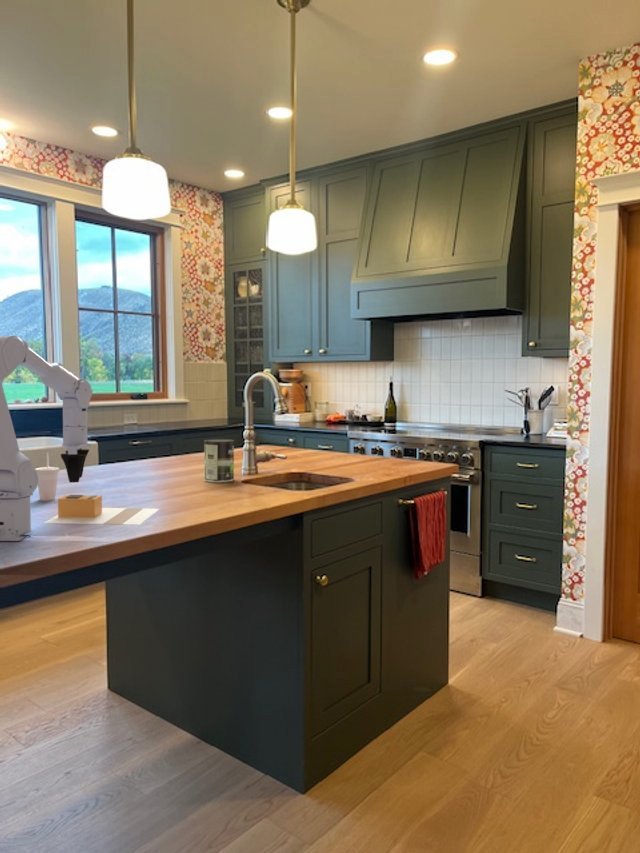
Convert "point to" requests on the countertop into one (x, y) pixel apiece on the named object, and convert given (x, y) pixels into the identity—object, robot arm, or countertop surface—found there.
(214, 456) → the coffee can
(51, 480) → the smoothie
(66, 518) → the drywall panel
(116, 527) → the countertop surface
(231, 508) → the countertop surface
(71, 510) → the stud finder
